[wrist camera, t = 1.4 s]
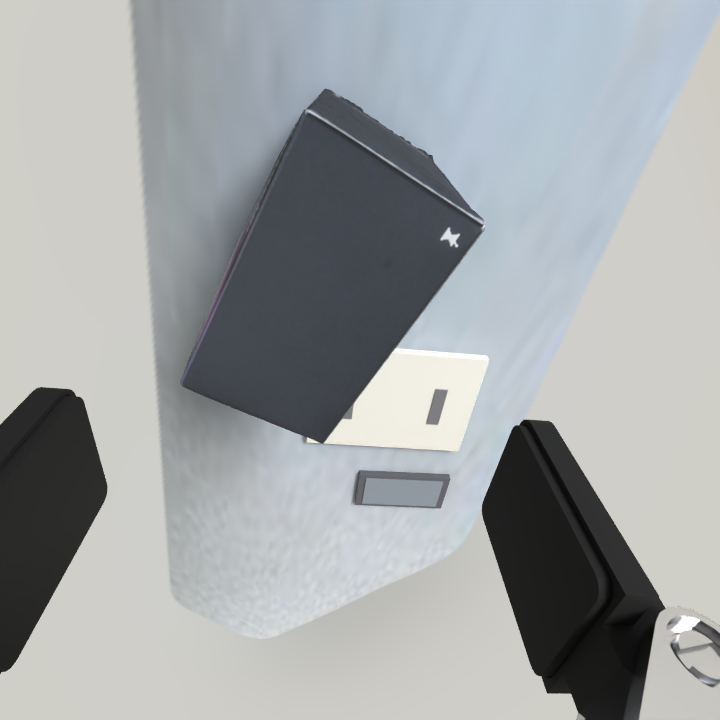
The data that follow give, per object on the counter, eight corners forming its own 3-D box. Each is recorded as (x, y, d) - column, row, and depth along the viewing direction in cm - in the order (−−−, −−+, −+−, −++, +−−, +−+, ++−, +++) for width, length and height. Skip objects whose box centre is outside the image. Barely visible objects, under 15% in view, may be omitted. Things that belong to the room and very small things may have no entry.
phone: (359, 464, 34) (360, 475, 33) (447, 469, 35) (450, 480, 34) (355, 494, 36) (355, 505, 35) (438, 498, 37) (440, 509, 36)
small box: (317, 77, 19) (299, 90, 11) (436, 157, 21) (502, 223, 13) (229, 273, 24) (168, 389, 16) (332, 323, 26) (329, 451, 18)
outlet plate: (313, 341, 27) (313, 347, 26) (486, 355, 28) (489, 361, 27) (307, 436, 31) (306, 443, 31) (456, 445, 32) (458, 452, 32)
